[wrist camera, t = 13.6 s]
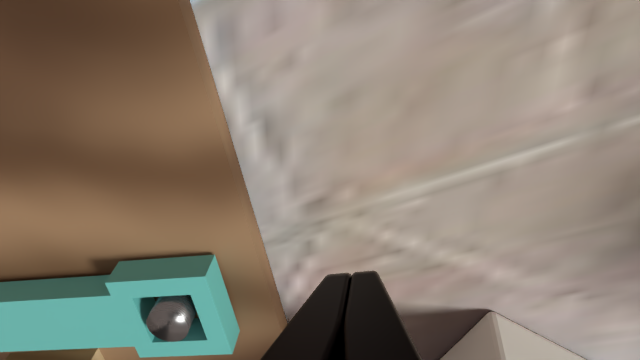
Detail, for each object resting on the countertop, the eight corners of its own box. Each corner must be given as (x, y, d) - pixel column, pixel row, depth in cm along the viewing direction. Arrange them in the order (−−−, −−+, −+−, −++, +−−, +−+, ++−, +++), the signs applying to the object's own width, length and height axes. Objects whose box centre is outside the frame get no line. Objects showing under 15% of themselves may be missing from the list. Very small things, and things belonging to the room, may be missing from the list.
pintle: (213, 292, 26) (193, 340, 24) (177, 295, 26) (154, 343, 24) (201, 262, 25) (180, 308, 23) (165, 265, 26) (140, 311, 23)
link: (214, 254, 23) (205, 276, 22) (239, 330, 25) (232, 354, 24) (-179, 282, 27) (-205, 302, 26) (-128, 347, 29) (-150, 368, 28)
